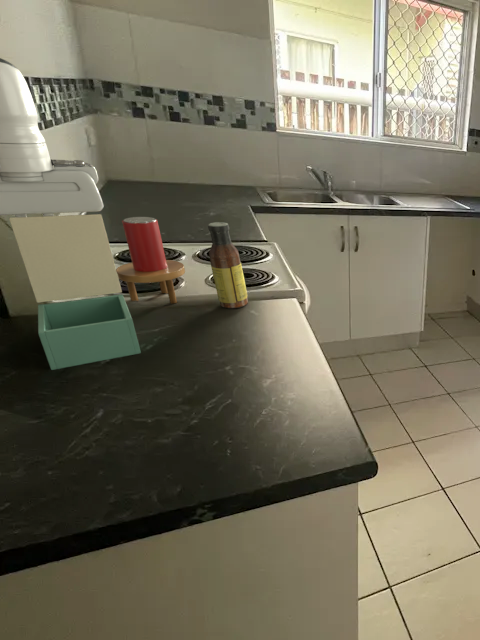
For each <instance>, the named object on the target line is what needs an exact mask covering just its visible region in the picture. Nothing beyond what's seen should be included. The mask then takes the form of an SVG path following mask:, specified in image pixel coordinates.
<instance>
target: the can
mask: <svg viewBox="0 0 480 640" xmlns="http://www.w3.org/2000/svg"><path fill="white" fill-rule="evenodd" d="M121 222H122V225H123V226H122V227H123V231H124V234H125V239H126V243H127V246H128V251H129V255H130V259H131V263H132V264H133V268H134V270H136V271H142V272H150V271H158V270H162V269H165V268H167V263H166V260H167V259H166V254H165V248H164V244H163V240H162V235H161V231H160V226H159V220H158V219H157V218H155V217H151V216H150V217H149V216H132V217H127V218H124V219H122V220H121Z"/></svg>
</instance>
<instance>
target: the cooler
mask: <svg viewBox="0 0 480 640" xmlns="http://www.w3.org/2000/svg"><path fill="white" fill-rule="evenodd" d="M37 332H38V333H37V334H38V337H39V339H40V342H41V345H42V348H43V351H44V354H45V356H46V360H47V363H48V365H49V368H50V370H51V371H53V370H60V369H65V368H70V367H75V366H81V365H85V364H91V363H96V362H97V363H98V362H102V361H106V360H112V359H118V358H123V357H128V356H132V355H138V354H139V355H140V354H141V353H142V352H141V348H140V344H139V339H138V336H137V332H136V329H135V324H134V320H133V318H132V315H131V312H130V310H129V307H128V305H127V303H126V300H125V297H124V294H122V293H121V294H112V295H106V296H105V295H104V296H99V297H98V296H96V297H90V298H89V297H88V298H82V299H72V300H66V301H65V300H64V301H58V302H48V303H41V304H38V305H37Z"/></svg>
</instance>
